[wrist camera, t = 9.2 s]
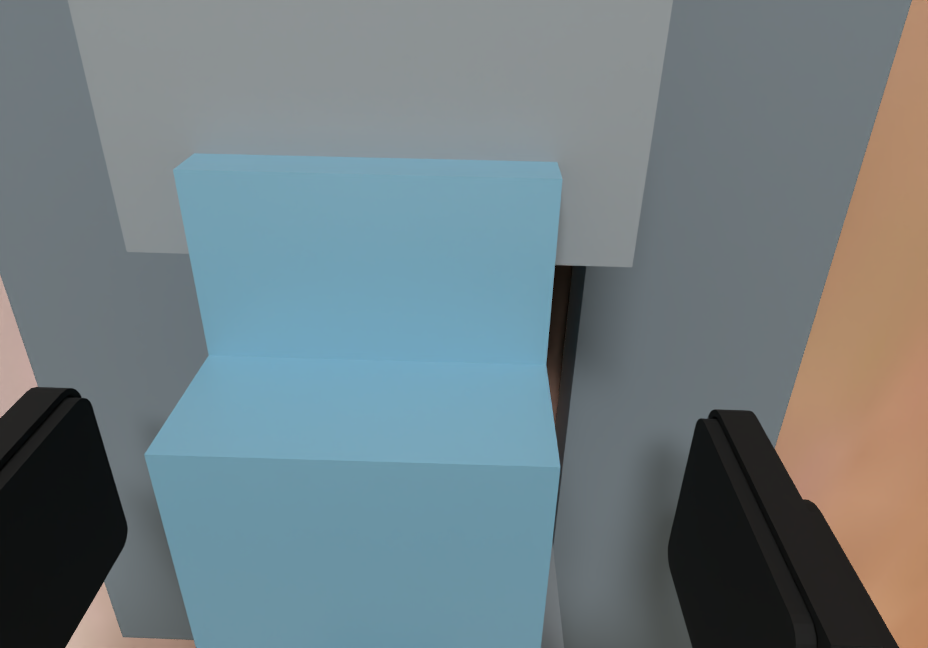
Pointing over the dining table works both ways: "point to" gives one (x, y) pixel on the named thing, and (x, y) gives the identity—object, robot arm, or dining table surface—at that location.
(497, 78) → the block
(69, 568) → the robot arm
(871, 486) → the dining table surface
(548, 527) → the block
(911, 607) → the dining table surface
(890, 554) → the dining table surface
